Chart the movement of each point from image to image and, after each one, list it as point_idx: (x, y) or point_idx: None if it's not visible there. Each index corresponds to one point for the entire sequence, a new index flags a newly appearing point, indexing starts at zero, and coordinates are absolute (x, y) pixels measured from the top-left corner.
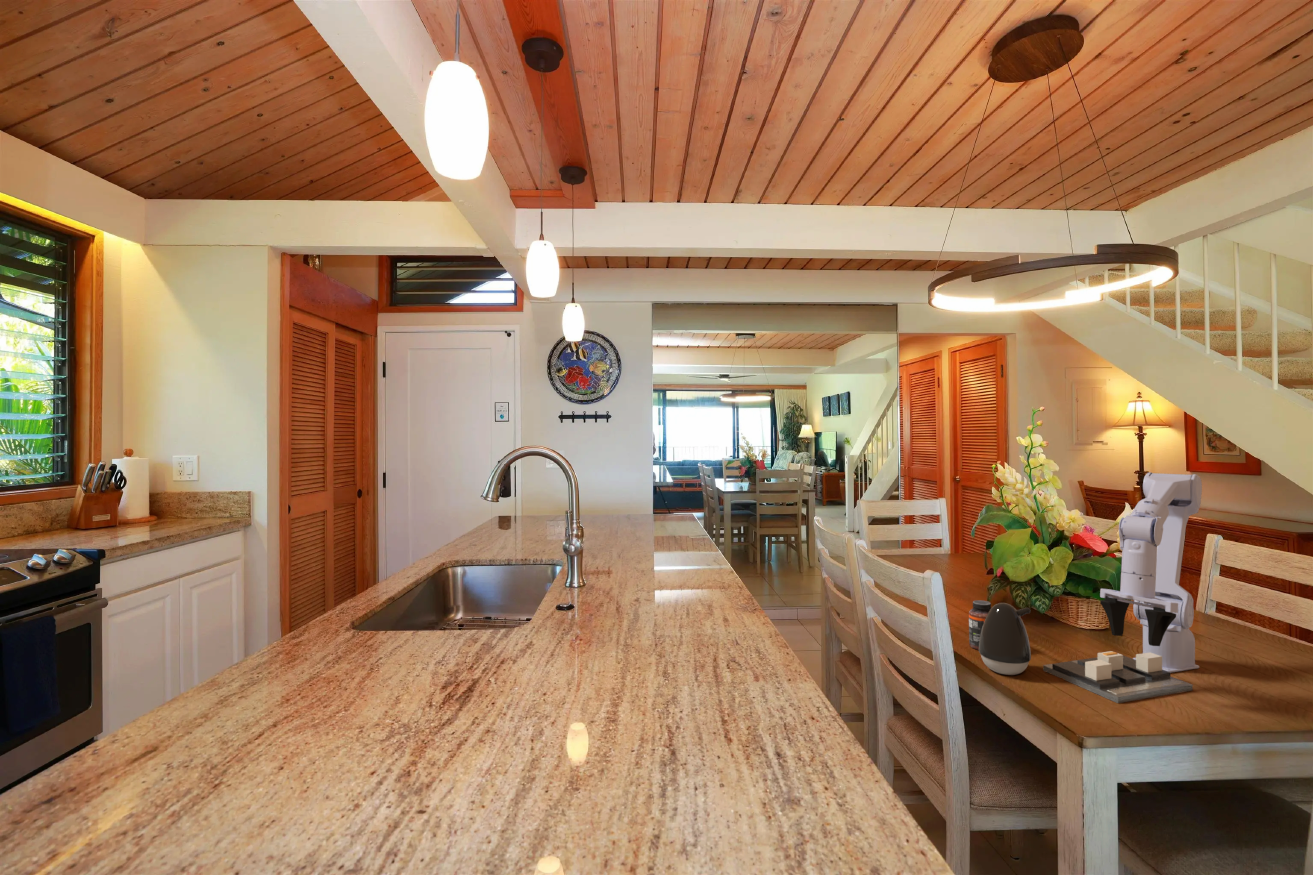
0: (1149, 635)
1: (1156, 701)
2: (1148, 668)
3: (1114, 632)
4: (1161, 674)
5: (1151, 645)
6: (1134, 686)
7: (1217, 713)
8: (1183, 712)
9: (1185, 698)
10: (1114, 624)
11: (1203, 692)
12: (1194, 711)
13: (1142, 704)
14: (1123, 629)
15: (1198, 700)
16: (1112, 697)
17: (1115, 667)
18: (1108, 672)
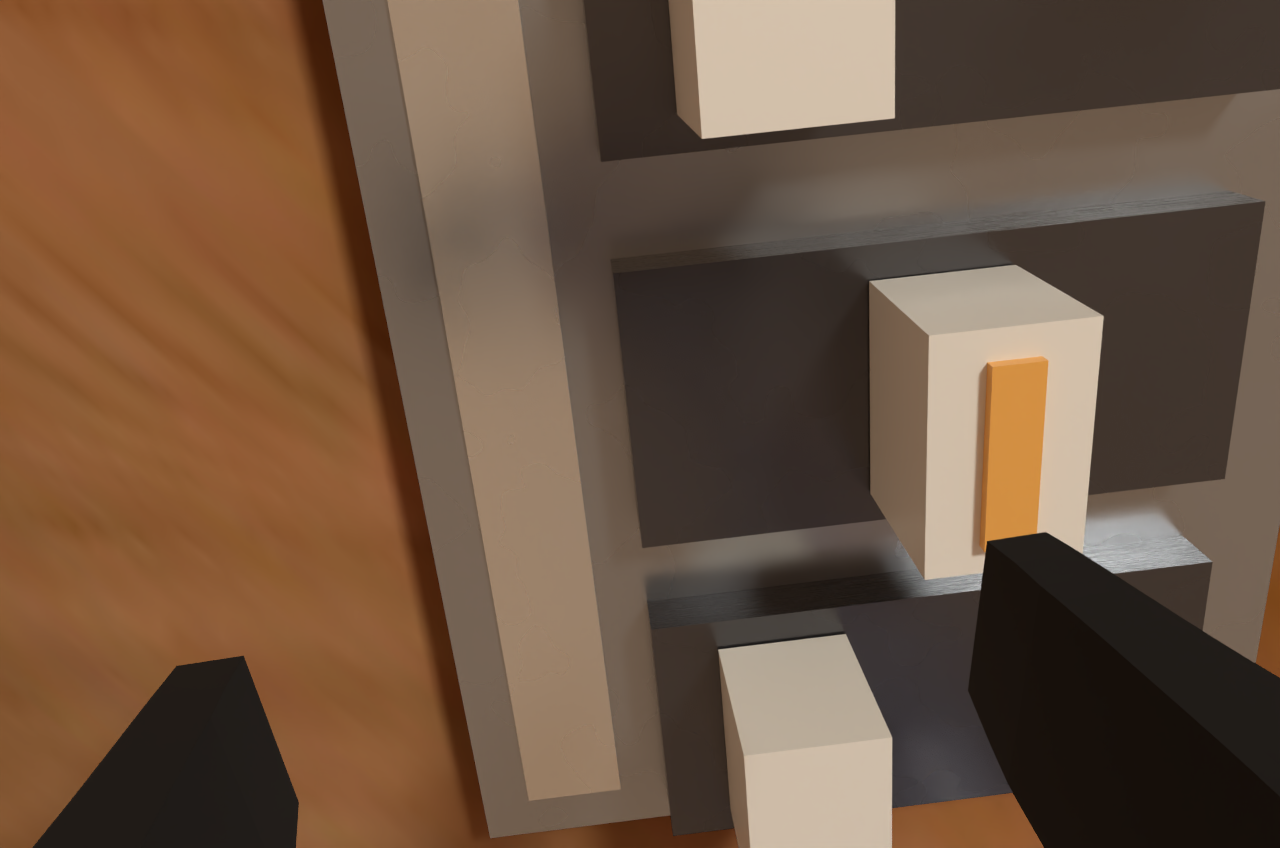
0: (140, 807)
1: (310, 304)
2: (726, 683)
3: (1020, 568)
4: (663, 736)
5: (195, 665)
6: (531, 287)
7: (26, 606)
8: (43, 336)
9: (348, 616)
10: (1131, 702)
11: (443, 837)
12: (67, 455)
13: (249, 86)
14: (1027, 814)
15: (298, 680)
16: None
17: (878, 397)
18: (681, 64)
